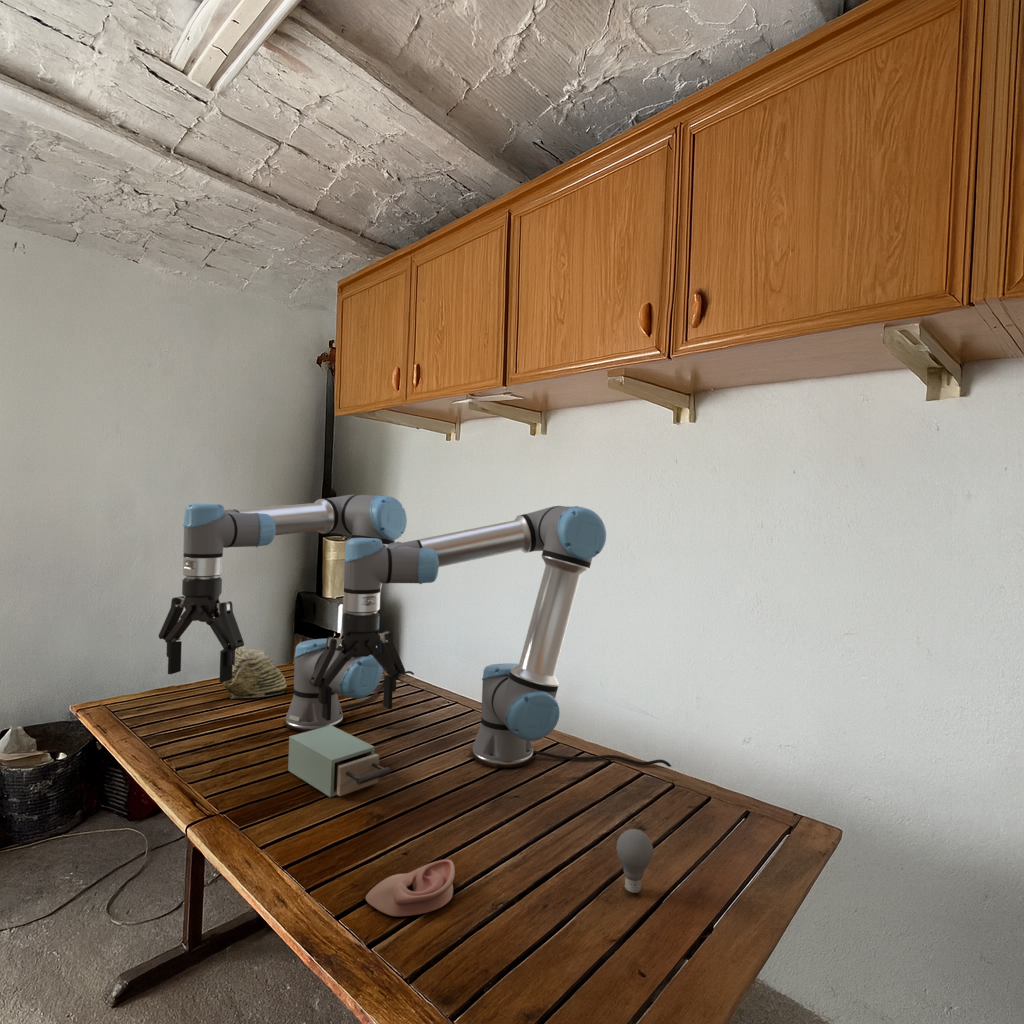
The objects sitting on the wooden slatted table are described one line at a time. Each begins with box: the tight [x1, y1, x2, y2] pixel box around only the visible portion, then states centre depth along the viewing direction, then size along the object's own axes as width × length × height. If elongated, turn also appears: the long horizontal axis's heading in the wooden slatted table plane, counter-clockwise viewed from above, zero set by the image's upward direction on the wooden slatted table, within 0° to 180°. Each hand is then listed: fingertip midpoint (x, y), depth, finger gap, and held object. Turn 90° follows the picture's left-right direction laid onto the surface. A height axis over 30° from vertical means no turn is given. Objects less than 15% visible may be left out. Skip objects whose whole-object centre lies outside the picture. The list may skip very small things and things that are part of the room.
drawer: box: [334, 753, 391, 797], centre depth 140 cm, size 22×10×6 cm, turn 48°
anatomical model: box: [365, 858, 456, 918], centre depth 102 cm, size 13×4×12 cm
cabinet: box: [287, 725, 376, 798], centre depth 144 cm, size 18×11×8 cm, turn 48°
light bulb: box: [615, 828, 654, 894], centre depth 106 cm, size 6×6×10 cm
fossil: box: [222, 646, 288, 699], centre depth 198 cm, size 9×18×15 cm, turn 132°
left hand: (199, 676), depth 134 cm, fingers open, 13 cm apart
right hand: (357, 712), depth 133 cm, fingers open, 13 cm apart
